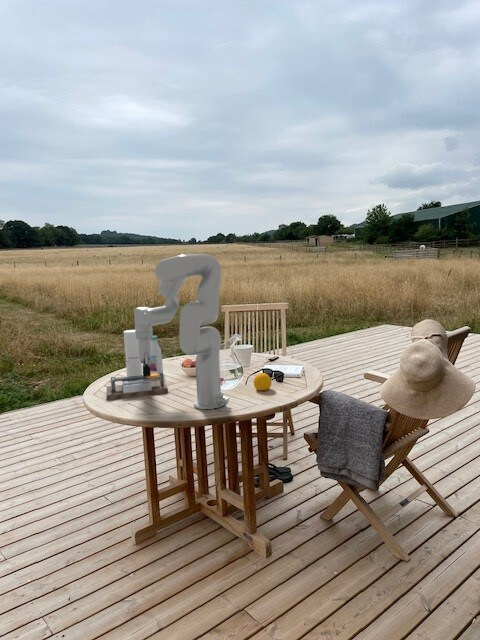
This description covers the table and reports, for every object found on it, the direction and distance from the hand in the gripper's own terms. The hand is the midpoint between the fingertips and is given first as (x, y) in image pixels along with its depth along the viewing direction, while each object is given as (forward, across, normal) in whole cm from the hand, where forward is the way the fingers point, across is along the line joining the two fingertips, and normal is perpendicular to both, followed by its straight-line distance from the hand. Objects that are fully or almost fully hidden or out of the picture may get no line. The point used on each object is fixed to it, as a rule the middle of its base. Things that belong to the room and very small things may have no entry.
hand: (146, 374), depth 204 cm
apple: (+7, +20, +48) cm, 53 cm away
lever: (+1, 0, -5) cm, 5 cm away
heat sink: (+5, +1, -4) cm, 7 cm away
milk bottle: (+8, -26, +6) cm, 27 cm away
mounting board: (+7, +1, -5) cm, 9 cm away
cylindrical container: (+8, -16, -5) cm, 19 cm away
